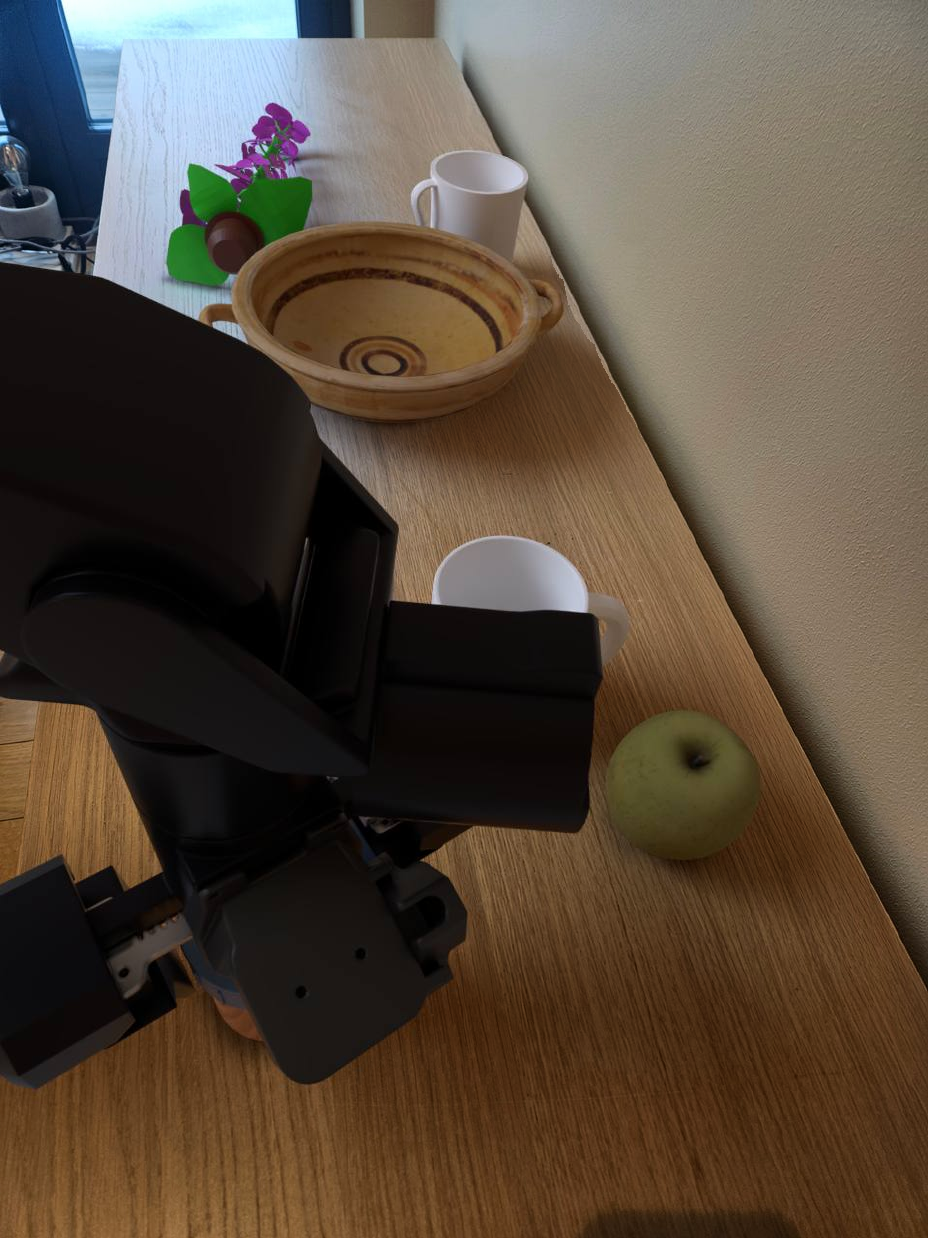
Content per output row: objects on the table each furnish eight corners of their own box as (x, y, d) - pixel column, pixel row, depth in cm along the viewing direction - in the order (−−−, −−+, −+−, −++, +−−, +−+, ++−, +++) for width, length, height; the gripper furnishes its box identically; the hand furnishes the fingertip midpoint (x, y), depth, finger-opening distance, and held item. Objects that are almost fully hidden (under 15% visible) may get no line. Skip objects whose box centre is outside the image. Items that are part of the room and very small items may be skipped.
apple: (755, 858, 48) (805, 797, 43) (629, 902, 46) (666, 844, 40) (687, 746, 52) (725, 677, 47) (569, 781, 50) (595, 714, 45)
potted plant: (194, 351, 80) (247, 206, 104) (348, 275, 75) (366, 142, 99) (100, 228, 72) (182, 102, 96) (267, 134, 67) (309, 27, 91)
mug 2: (588, 634, 57) (625, 523, 49) (629, 740, 52) (678, 634, 44) (411, 655, 55) (420, 541, 47) (436, 768, 50) (451, 662, 42)
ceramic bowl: (503, 292, 84) (514, 210, 78) (600, 449, 70) (623, 364, 64) (192, 317, 77) (177, 228, 70) (229, 499, 62) (215, 407, 56)
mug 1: (490, 251, 89) (503, 146, 81) (527, 296, 84) (545, 188, 76) (391, 264, 86) (394, 155, 78) (424, 311, 81) (431, 200, 73)
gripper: (-28, 1243, 18) (127, 1279, 30) (632, 810, 26) (545, 976, 38) (-147, 824, 23) (25, 997, 35) (429, 572, 31) (409, 783, 43)
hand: (267, 936), depth 38 cm, fingers open, 7 cm apart
